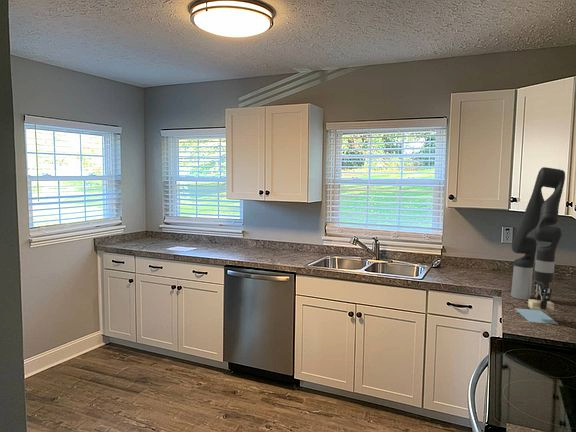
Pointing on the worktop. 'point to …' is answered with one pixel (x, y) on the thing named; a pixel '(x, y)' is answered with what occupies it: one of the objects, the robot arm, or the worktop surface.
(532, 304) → the cream notched block
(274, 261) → the worktop surface
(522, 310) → the mat
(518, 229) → the robot arm
